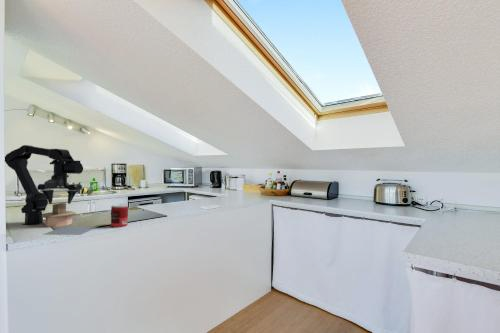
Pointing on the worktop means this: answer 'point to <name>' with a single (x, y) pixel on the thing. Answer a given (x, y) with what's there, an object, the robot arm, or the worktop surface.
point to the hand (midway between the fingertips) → (59, 203)
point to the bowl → (58, 221)
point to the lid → (58, 211)
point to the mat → (71, 230)
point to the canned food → (119, 215)
